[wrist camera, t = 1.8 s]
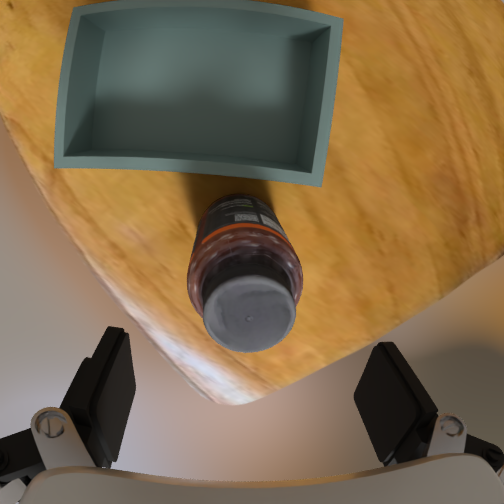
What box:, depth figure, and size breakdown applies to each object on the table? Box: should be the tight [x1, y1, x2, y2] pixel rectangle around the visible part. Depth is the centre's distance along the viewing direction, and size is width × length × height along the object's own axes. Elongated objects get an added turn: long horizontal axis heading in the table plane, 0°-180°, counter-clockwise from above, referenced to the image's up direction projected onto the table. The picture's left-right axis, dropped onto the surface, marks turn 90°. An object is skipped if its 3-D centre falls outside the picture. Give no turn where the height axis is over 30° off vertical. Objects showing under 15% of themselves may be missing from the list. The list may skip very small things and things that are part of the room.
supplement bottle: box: [187, 194, 303, 353], centre depth 18 cm, size 6×6×11 cm
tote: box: [54, 0, 343, 187], centre depth 17 cm, size 10×16×5 cm, turn 83°
